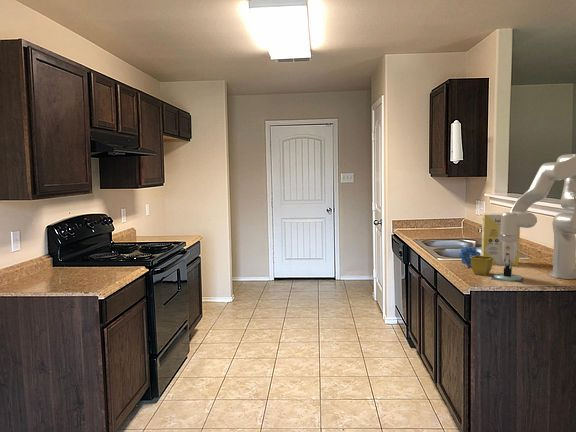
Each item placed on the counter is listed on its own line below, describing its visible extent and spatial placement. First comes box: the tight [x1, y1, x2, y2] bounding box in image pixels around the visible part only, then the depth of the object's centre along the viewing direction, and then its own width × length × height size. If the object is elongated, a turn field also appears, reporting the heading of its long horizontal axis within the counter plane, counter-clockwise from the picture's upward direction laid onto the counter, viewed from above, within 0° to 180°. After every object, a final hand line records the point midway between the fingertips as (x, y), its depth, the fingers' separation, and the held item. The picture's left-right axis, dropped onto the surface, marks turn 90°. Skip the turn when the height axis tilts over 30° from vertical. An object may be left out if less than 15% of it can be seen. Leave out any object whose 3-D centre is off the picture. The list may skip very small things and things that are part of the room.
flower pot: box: [470, 255, 493, 276], centre depth 242 cm, size 9×9×9 cm
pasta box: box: [480, 212, 521, 266], centre depth 270 cm, size 18×10×28 cm, turn 74°
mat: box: [490, 274, 525, 284], centre depth 231 cm, size 14×12×1 cm
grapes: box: [458, 244, 481, 268], centre depth 259 cm, size 12×7×12 cm, turn 85°
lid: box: [493, 265, 522, 282], centre depth 231 cm, size 12×12×6 cm
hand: (507, 274), depth 231 cm, fingers open, 5 cm apart
